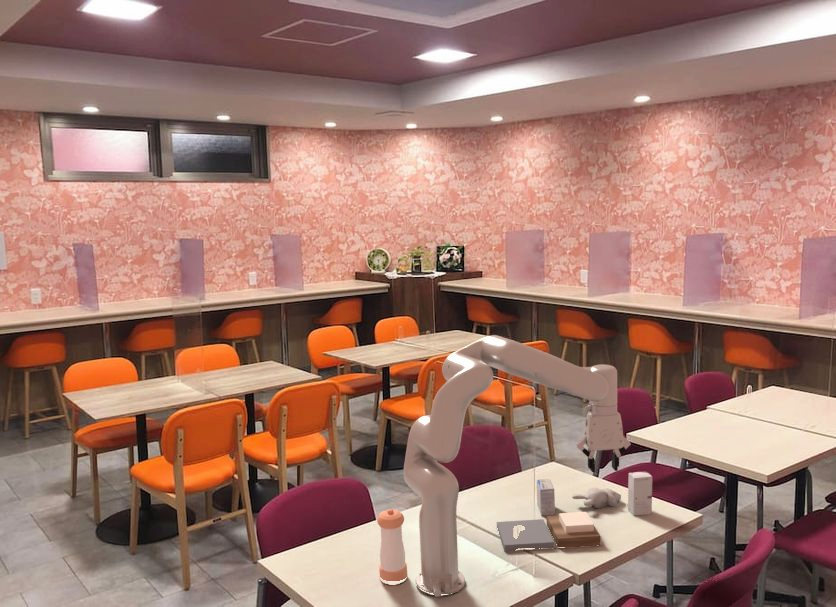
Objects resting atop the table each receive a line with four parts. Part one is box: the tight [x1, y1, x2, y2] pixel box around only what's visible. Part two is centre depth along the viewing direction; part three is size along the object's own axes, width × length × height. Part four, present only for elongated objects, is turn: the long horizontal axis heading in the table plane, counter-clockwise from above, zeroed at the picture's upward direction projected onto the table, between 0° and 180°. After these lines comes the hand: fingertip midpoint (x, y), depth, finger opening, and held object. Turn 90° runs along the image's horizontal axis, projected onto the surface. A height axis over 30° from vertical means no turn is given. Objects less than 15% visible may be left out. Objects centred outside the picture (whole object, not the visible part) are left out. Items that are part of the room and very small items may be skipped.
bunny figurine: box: [572, 487, 622, 509], centre depth 225 cm, size 10×5×15 cm
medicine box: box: [536, 478, 556, 517], centre depth 222 cm, size 8×4×9 cm, turn 179°
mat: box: [496, 519, 555, 553], centre depth 206 cm, size 14×14×2 cm
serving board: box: [546, 514, 601, 548], centre depth 206 cm, size 14×12×3 cm
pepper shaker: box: [376, 508, 408, 581], centre depth 186 cm, size 7×7×19 cm
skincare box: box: [627, 471, 653, 516], centre depth 218 cm, size 6×4×12 cm
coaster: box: [558, 511, 595, 533], centre depth 206 cm, size 8×8×2 cm
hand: (603, 469), depth 204 cm, fingers open, 5 cm apart
